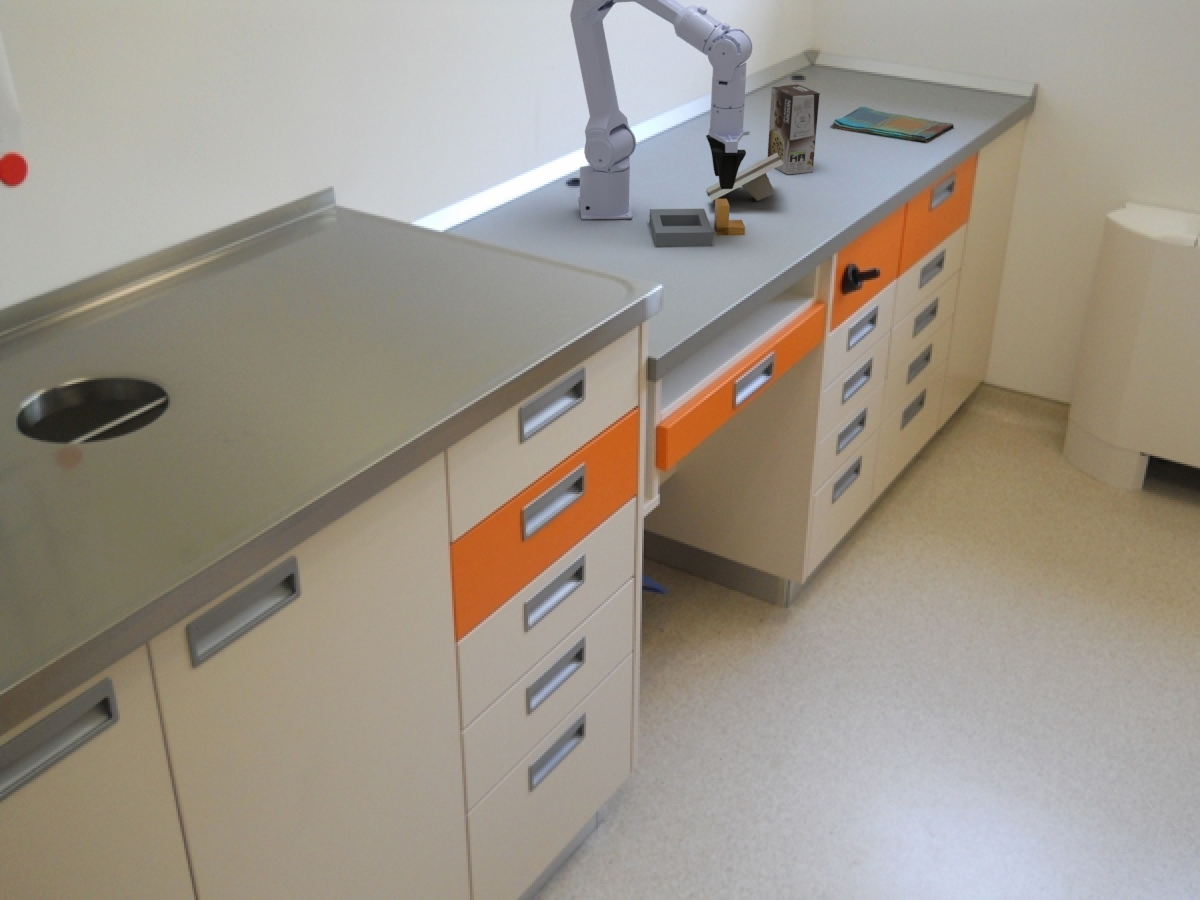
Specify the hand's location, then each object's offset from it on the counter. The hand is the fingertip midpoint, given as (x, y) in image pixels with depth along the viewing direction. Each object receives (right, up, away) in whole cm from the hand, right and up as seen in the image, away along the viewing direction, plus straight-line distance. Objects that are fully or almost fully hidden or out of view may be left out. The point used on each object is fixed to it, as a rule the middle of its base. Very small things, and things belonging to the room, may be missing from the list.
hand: (723, 182), depth 225 cm
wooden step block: (+1, -8, +5) cm, 9 cm away
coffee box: (+18, +11, +40) cm, 45 cm away
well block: (-7, -9, +3) cm, 12 cm away
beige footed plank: (+6, +1, +21) cm, 22 cm away
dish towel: (+45, +26, +68) cm, 86 cm away
